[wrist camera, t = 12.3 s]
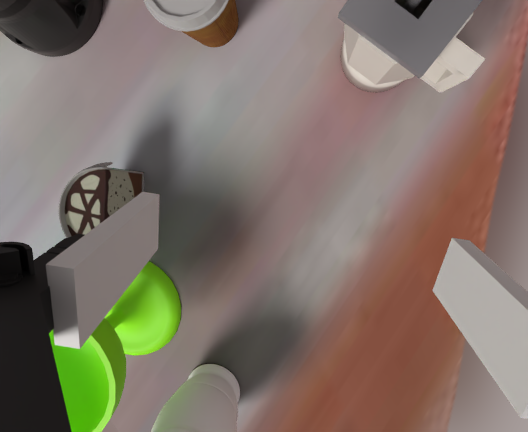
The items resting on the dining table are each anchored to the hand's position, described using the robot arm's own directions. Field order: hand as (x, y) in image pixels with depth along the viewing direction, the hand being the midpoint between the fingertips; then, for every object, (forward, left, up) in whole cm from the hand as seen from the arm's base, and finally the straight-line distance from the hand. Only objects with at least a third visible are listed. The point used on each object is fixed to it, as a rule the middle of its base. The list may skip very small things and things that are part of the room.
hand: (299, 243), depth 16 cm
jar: (+25, -23, -32) cm, 46 cm away
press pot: (-11, +14, -31) cm, 36 cm away
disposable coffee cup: (-24, -5, -32) cm, 40 cm away
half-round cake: (-6, -26, -32) cm, 41 cm away
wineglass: (+9, -31, -32) cm, 45 cm away
